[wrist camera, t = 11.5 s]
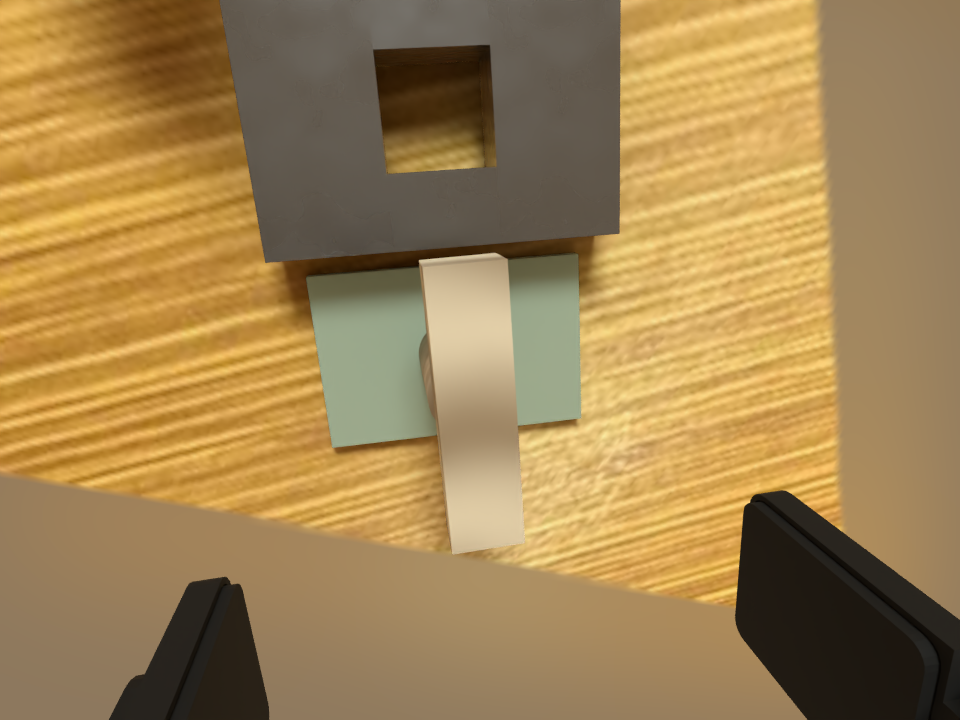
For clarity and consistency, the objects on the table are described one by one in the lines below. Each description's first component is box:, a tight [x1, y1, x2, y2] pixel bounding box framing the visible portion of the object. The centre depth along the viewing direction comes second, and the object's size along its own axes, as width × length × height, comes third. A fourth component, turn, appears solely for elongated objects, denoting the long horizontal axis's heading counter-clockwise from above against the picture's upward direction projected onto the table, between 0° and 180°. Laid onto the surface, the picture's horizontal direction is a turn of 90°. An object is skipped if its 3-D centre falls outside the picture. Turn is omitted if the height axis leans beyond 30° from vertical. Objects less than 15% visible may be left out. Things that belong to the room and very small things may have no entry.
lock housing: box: [219, 0, 620, 263], centre depth 23 cm, size 14×10×3 cm
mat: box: [306, 253, 581, 448], centre depth 27 cm, size 12×8×1 cm, turn 94°
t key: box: [419, 253, 525, 555], centre depth 23 cm, size 10×3×8 cm, turn 4°
